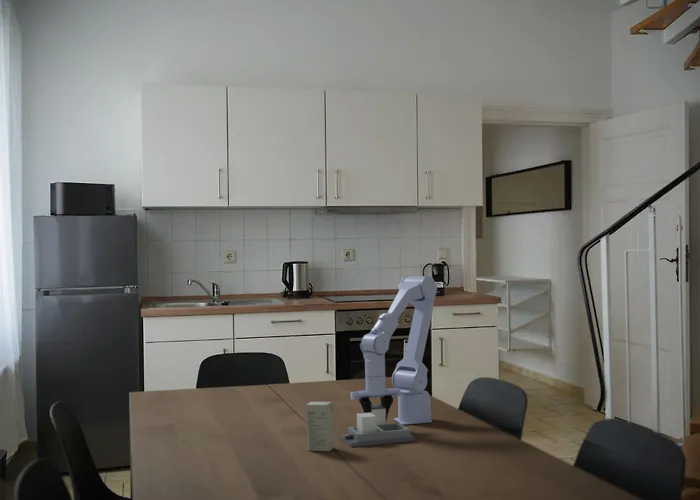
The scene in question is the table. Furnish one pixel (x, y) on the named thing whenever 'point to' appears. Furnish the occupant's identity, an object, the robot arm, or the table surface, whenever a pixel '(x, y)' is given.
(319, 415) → the skincare box
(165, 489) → the table surface
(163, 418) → the table surface
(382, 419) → the plug
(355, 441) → the socket board
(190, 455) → the table surface
